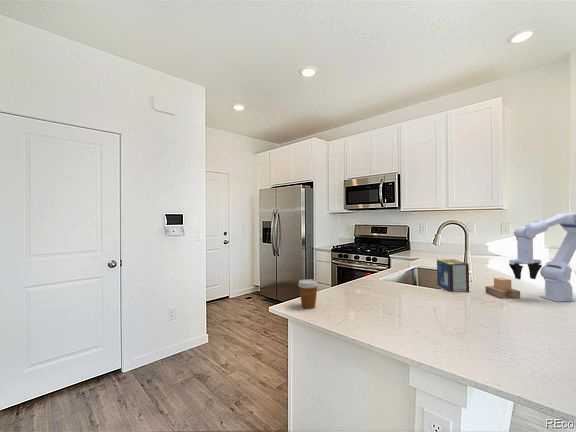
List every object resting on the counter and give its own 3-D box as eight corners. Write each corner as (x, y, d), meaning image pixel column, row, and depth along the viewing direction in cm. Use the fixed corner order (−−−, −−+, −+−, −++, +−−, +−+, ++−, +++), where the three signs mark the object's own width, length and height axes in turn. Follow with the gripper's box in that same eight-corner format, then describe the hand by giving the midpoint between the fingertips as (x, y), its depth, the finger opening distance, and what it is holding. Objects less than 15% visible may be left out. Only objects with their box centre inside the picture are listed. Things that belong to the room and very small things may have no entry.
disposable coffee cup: (295, 308, 125) (294, 282, 125) (303, 302, 134) (303, 278, 134) (314, 311, 121) (313, 284, 121) (321, 305, 129) (321, 280, 129)
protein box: (455, 285, 162) (454, 259, 162) (469, 292, 147) (469, 263, 147) (436, 284, 163) (436, 259, 163) (449, 292, 148) (449, 263, 148)
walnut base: (504, 293, 145) (504, 286, 145) (520, 299, 135) (520, 291, 135) (485, 293, 145) (485, 286, 145) (499, 299, 135) (499, 291, 135)
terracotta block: (503, 287, 142) (502, 277, 142) (511, 289, 137) (511, 279, 137) (494, 287, 142) (493, 278, 142) (502, 290, 137) (501, 280, 137)
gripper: (518, 252, 127) (518, 281, 127) (547, 251, 128) (547, 280, 128) (505, 250, 134) (505, 277, 134) (533, 250, 135) (533, 277, 135)
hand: (525, 278), depth 132 cm, fingers open, 7 cm apart
